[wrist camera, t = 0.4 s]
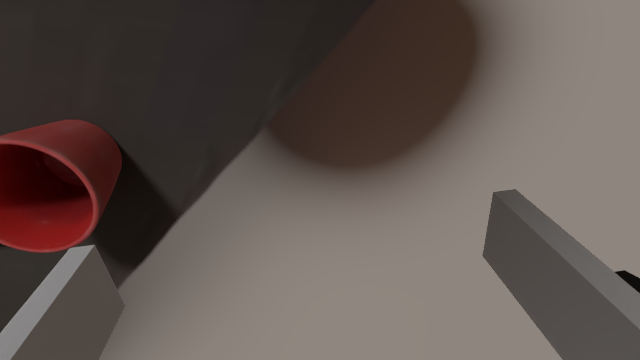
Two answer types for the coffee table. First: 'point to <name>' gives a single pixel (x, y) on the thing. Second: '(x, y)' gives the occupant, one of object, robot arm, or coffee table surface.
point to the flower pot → (55, 184)
